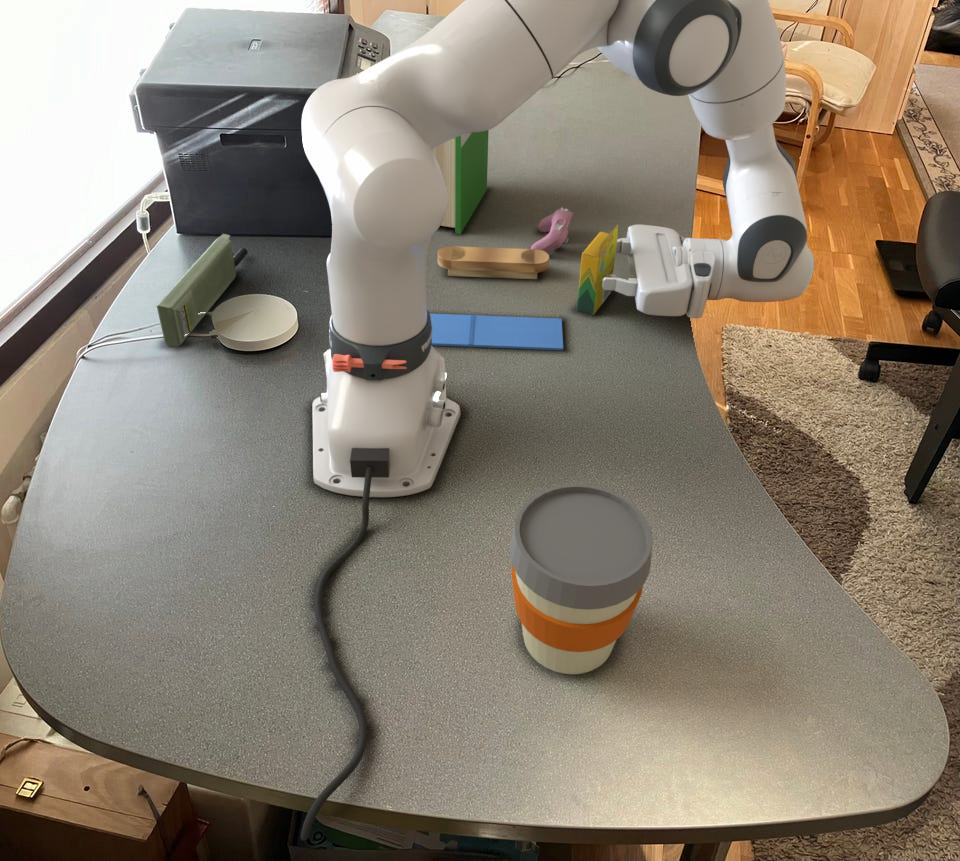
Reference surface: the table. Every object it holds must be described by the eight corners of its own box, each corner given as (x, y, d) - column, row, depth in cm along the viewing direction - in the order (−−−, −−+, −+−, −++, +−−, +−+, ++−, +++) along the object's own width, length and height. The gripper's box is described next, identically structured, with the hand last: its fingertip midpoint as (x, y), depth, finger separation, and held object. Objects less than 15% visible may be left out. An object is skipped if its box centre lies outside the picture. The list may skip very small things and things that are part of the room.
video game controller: (551, 268, 142) (573, 235, 137) (527, 254, 141) (549, 221, 136) (559, 239, 149) (581, 207, 144) (536, 225, 148) (557, 193, 144)
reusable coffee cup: (479, 621, 86) (482, 517, 77) (576, 566, 92) (590, 463, 82) (558, 715, 79) (573, 613, 69) (659, 649, 84) (686, 546, 75)
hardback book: (460, 234, 147) (461, 90, 131) (418, 227, 148) (414, 84, 132) (486, 189, 160) (490, 53, 144) (448, 184, 161) (447, 49, 145)
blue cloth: (563, 350, 122) (563, 347, 121) (420, 345, 122) (420, 342, 122) (561, 320, 127) (561, 318, 127) (425, 315, 128) (425, 312, 127)
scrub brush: (547, 266, 139) (549, 249, 137) (548, 281, 136) (549, 264, 134) (438, 262, 139) (438, 245, 137) (436, 276, 136) (436, 259, 134)
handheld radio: (160, 344, 121) (234, 256, 139) (182, 348, 121) (254, 259, 139) (151, 304, 117) (229, 218, 135) (174, 308, 116) (249, 221, 135)
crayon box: (593, 287, 134) (601, 218, 127) (611, 292, 133) (620, 223, 126) (575, 310, 129) (582, 240, 122) (593, 316, 128) (602, 245, 121)
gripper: (689, 216, 133) (598, 212, 133) (710, 286, 117) (607, 282, 117) (681, 252, 137) (594, 249, 137) (701, 325, 121) (602, 321, 122)
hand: (600, 264), depth 127 cm, fingers open, 8 cm apart
